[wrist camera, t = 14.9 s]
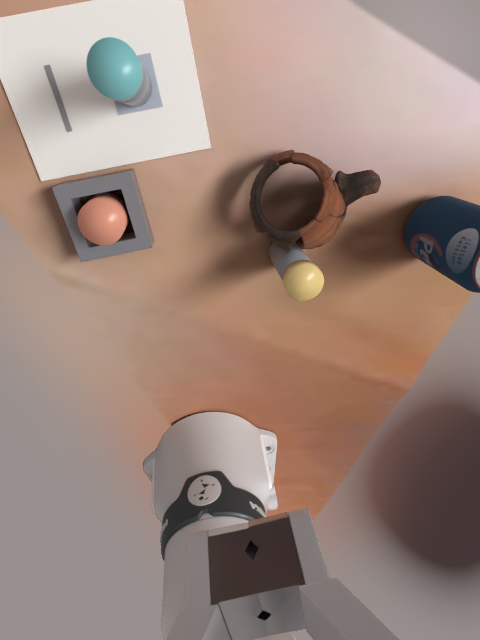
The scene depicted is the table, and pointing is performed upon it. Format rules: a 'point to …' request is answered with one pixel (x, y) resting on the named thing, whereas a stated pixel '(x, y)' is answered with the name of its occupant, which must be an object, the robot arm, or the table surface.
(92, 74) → the marker teal
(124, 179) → the button housing
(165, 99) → the paper
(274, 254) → the marker ochre
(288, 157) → the pottery mug
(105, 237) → the button
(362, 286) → the table surface
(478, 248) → the soda can
